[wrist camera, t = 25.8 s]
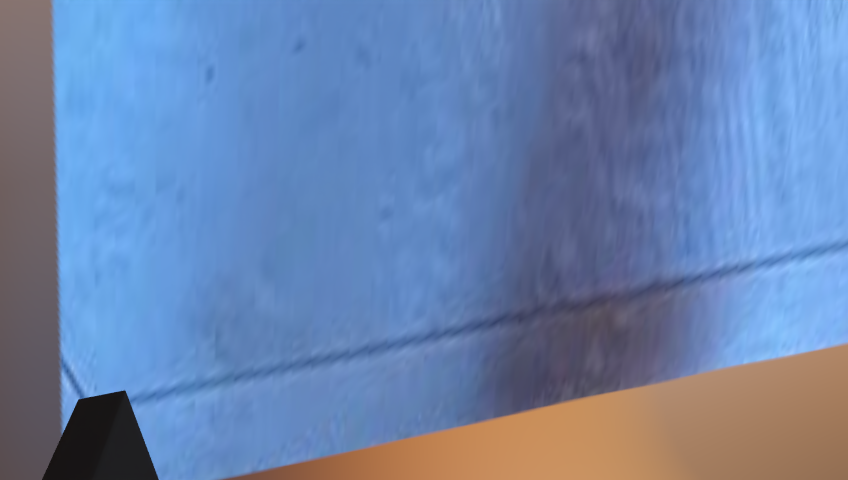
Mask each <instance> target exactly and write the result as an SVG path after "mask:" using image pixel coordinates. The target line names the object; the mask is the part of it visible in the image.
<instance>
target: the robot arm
mask: <svg viewBox="0 0 848 480" xmlns="http://www.w3.org/2000/svg"><path fill="white" fill-rule="evenodd" d="M42 480H159V479H158V476H157V474H156V471H155V468H154V466H153V463H152V460H151V458H150V455H149V452H148V450H147V447H146V444H145V442H144V439H143V436H142V434H141V431H140V428H139V426H138V423H137V420H136V418H135V415H134V412H133V410H132V407H131V404H130V402H129V399H128V396H127V394H126V391H120V392H114V393H109V394H104V395H99V396H94V397H89V398H84V399H79V400H78V402H77V404H76V406H75V408H74V410H73V413H72V415H71V417H70V419H69V421H68V424H67V426H66V428H65V430H64V433H63V435H62V437H61V439H60V441H59V444H58V446H57V448H56V450H55V452H54V455H53V457H52V459H51V461H50V463H49V466H48V468H47V470H46V472H45V474H44V477H43V479H42Z"/></svg>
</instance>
